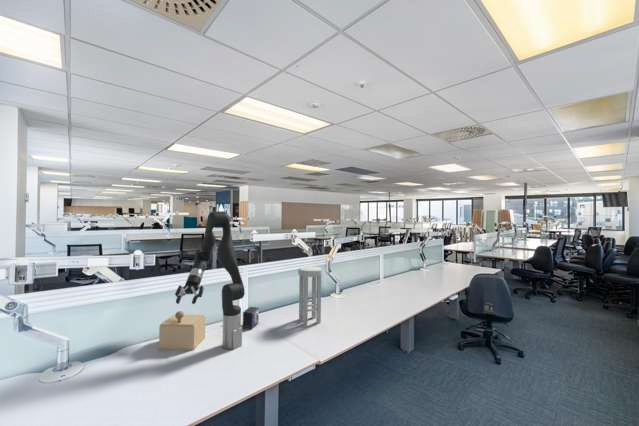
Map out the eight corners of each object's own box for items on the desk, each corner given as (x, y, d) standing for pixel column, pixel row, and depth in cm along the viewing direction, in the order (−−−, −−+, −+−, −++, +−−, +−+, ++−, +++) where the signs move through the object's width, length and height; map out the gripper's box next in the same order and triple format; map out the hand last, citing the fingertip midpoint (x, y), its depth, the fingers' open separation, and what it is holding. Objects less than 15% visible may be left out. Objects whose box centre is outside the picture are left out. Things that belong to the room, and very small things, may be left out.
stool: (324, 323, 181) (325, 269, 181) (302, 326, 175) (302, 271, 176) (316, 315, 195) (316, 265, 196) (295, 318, 190) (295, 267, 190)
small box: (251, 329, 169) (252, 312, 170) (242, 328, 171) (242, 311, 171) (259, 323, 180) (259, 307, 180) (249, 322, 181) (250, 306, 181)
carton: (173, 337, 157) (173, 316, 157) (204, 338, 157) (205, 316, 157) (159, 349, 143) (159, 326, 143) (193, 349, 143) (194, 326, 143)
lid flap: (174, 316, 157) (174, 304, 157) (204, 316, 157) (204, 304, 157) (160, 326, 143) (160, 312, 143) (193, 326, 143) (193, 313, 143)
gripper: (180, 274, 161) (169, 299, 149) (205, 274, 161) (196, 300, 149) (185, 281, 166) (174, 306, 155) (208, 281, 166) (200, 306, 155)
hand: (185, 303), depth 152 cm, fingers open, 8 cm apart
